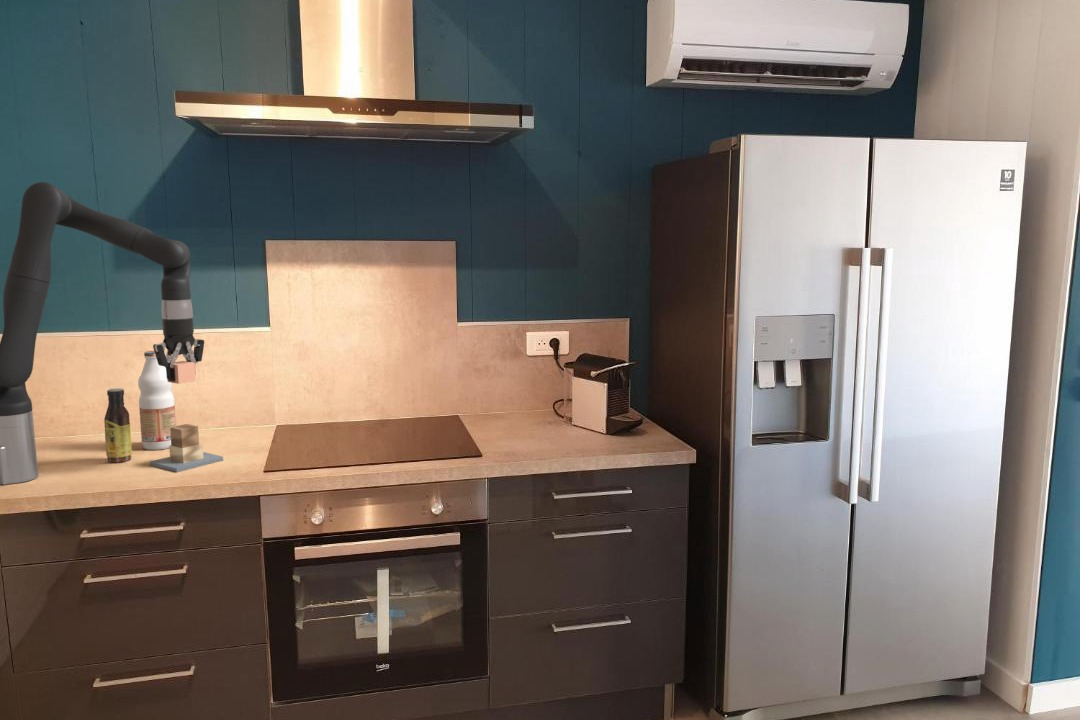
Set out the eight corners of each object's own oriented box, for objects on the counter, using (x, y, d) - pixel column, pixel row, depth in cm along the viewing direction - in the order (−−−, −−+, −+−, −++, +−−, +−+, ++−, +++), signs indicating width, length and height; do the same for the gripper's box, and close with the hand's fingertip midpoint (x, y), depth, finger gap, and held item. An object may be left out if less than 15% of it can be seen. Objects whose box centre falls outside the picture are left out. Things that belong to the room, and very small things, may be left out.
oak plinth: (183, 463, 222) (182, 448, 221) (170, 459, 225) (169, 445, 225) (203, 458, 227) (202, 443, 226) (190, 454, 230) (189, 440, 230)
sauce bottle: (103, 460, 228) (98, 389, 225) (127, 456, 233) (122, 386, 230) (111, 465, 224) (106, 392, 221) (136, 460, 228) (131, 389, 225)
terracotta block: (178, 383, 219) (177, 365, 219) (167, 381, 222) (166, 363, 221) (195, 381, 224) (194, 362, 223) (184, 379, 226) (183, 360, 226)
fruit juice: (140, 451, 237) (133, 354, 233) (143, 443, 246) (137, 350, 242) (176, 448, 240) (170, 353, 236) (178, 441, 249) (172, 348, 245)
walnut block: (182, 448, 222) (181, 429, 221) (171, 445, 225) (170, 427, 224) (199, 444, 226) (198, 426, 225) (188, 441, 229) (186, 423, 228)
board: (176, 472, 217) (176, 468, 217) (150, 465, 224) (149, 461, 224) (223, 460, 229) (223, 456, 229) (196, 453, 235) (196, 450, 235)
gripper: (160, 319, 212) (165, 385, 215) (210, 315, 224) (213, 377, 227) (143, 318, 216) (148, 382, 219) (193, 313, 228) (196, 374, 231)
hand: (181, 379), depth 223 cm, fingers closed on terracotta block, 5 cm apart
